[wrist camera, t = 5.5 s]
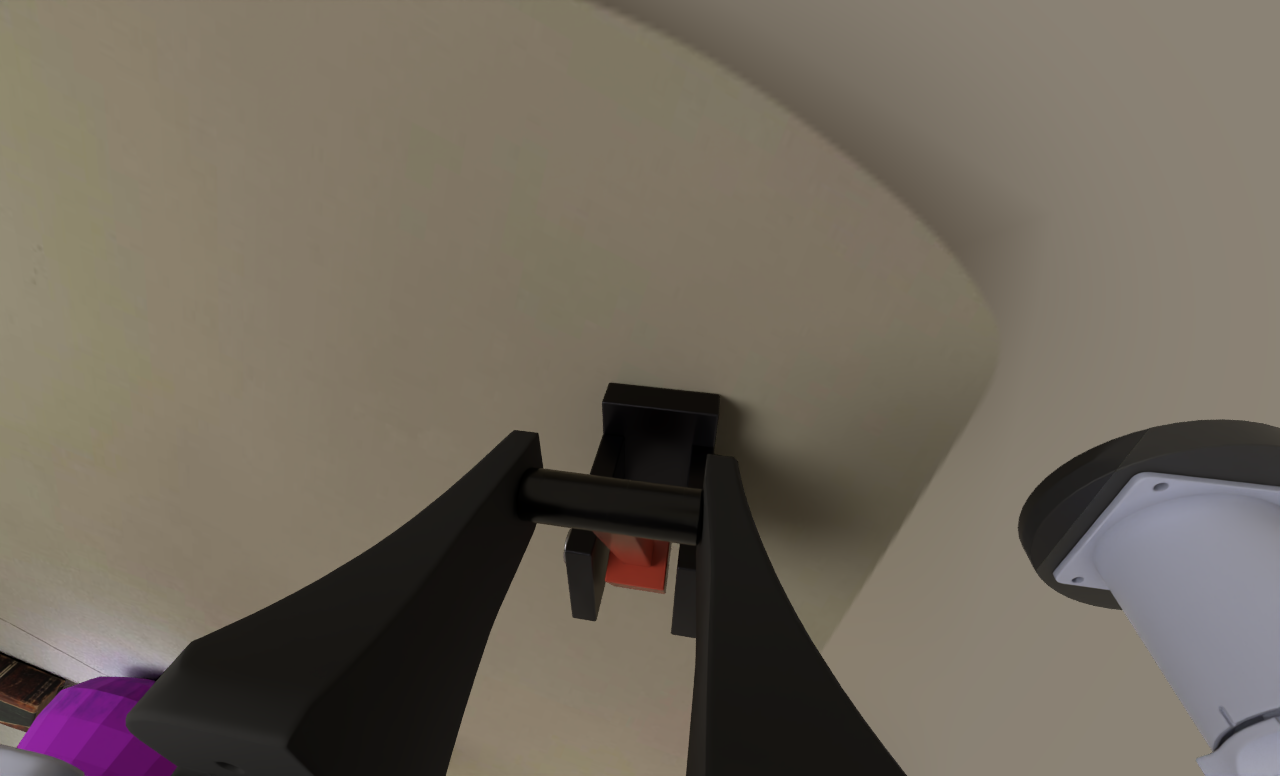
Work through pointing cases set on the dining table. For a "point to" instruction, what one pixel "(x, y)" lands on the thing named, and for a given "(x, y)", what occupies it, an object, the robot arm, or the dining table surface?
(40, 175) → the dining table surface
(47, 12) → the dining table surface
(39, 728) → the decorative plant
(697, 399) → the bracket
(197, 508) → the dining table surface
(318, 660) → the robot arm
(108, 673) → the dining table surface
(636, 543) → the lever
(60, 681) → the book
